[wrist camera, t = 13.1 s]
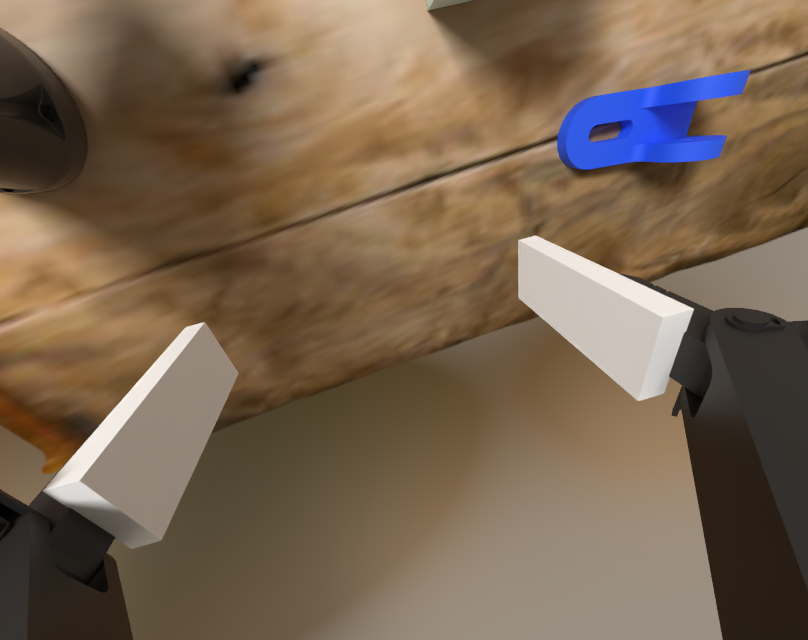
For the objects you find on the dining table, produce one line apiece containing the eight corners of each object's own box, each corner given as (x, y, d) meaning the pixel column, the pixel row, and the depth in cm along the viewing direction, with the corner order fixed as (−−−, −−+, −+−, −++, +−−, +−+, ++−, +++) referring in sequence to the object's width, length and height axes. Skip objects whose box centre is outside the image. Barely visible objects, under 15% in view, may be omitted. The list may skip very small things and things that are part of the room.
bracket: (687, 82, 40) (769, 66, 32) (667, 153, 44) (735, 154, 37) (561, 101, 39) (615, 90, 31) (553, 173, 43) (598, 178, 35)
